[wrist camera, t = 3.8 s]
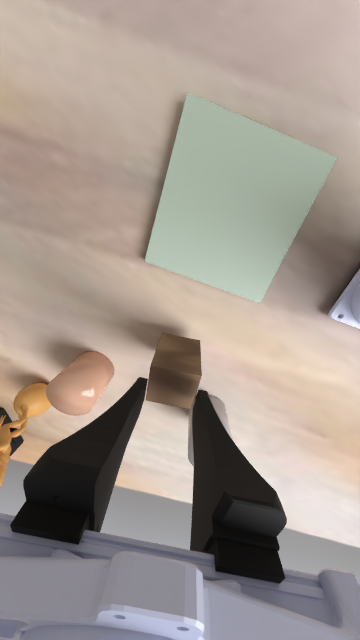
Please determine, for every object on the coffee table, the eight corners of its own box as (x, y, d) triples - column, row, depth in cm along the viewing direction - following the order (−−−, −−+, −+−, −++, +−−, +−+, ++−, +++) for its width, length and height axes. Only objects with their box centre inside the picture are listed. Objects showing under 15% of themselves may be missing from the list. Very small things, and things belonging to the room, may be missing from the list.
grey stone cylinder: (231, 401, 23) (244, 449, 17) (216, 426, 24) (223, 476, 19) (196, 390, 22) (198, 435, 17) (183, 416, 24) (181, 464, 19)
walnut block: (200, 340, 18) (201, 375, 13) (191, 369, 19) (190, 409, 15) (162, 332, 17) (150, 365, 13) (157, 362, 19) (145, 400, 15)
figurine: (34, 360, 22) (-126, 465, 11) (79, 375, 23) (-31, 491, 11) (31, 404, 25) (-98, 524, 14) (71, 417, 25) (-23, 543, 14)
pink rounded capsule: (117, 358, 21) (97, 387, 17) (110, 388, 23) (89, 421, 18) (79, 346, 21) (47, 371, 16) (74, 376, 23) (44, 407, 18)
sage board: (327, 164, 14) (337, 157, 13) (255, 300, 18) (259, 303, 17) (187, 104, 13) (187, 91, 12) (146, 261, 17) (144, 261, 16)
